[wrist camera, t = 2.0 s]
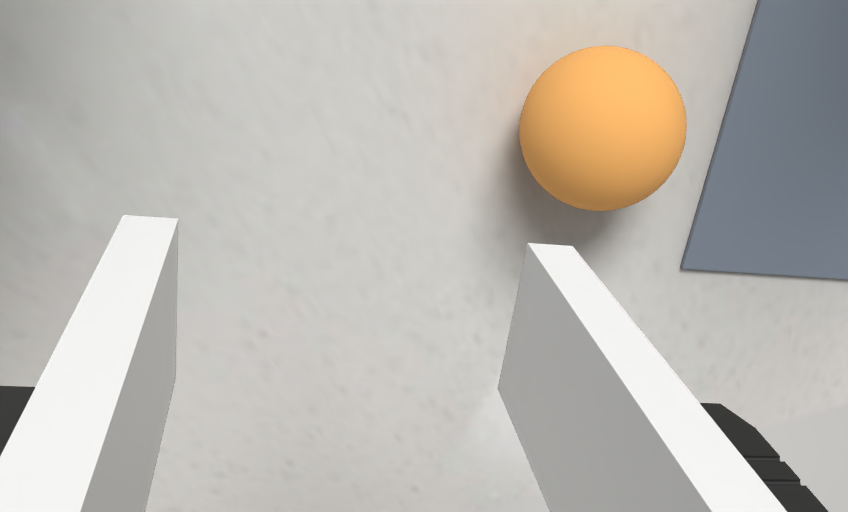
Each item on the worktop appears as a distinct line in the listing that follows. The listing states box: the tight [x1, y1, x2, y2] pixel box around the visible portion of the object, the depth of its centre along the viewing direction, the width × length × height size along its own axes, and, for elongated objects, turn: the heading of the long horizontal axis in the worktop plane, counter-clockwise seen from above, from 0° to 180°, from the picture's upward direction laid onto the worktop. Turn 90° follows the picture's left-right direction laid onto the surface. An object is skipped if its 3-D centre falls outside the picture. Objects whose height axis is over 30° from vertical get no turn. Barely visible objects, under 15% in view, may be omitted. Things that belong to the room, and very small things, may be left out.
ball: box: [519, 46, 687, 211], centre depth 27 cm, size 6×6×6 cm
